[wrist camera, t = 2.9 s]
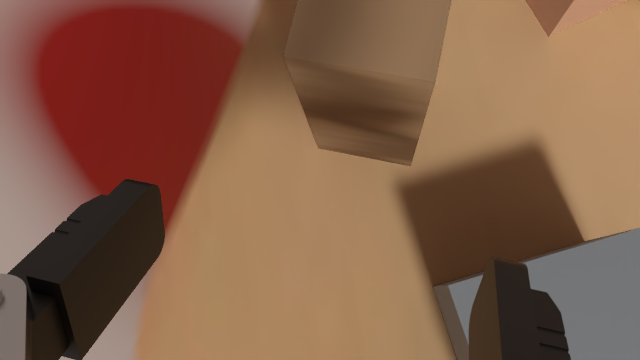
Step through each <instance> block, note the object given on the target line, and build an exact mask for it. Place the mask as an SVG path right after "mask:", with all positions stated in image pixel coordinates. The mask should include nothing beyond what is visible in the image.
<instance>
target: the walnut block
mask: <svg viewBox="0 0 640 360" xmlns="http://www.w3.org/2000/svg"><path fill="white" fill-rule="evenodd" d="M450 4H451V0H297V4H296V8H295V12H294V16H293V20H292V24H291V27H290V31H289V35H288V39H287V43H286V47H285V51H284V55H283V57H284V60H285V62H286V65H287V68H288V70H289V73H290V76H291V78H292V81H293V83H294V86H295V89H296V91H297V94H298V96H299V99H300V102H301V104H302V107H303V110H304V112H305V115H306V117H307V120H308V123H309V125H310V128H311V130H312V133H313V136H314V138H315V141H316V144H317V146H318V148H320V149H325V150H330V151H335V152H341V153H346V154H351V155H356V156H361V157H366V158H372V159H377V160H382V161H387V162H392V163H397V164H402V165H408V166H411V163H412V159H413V156H414V153H415V149H416V146H417V142H418V139H419V136H420V132H421V129H422V125H423V122H424V119H425V115H426V112H427V109H428V105H429V102H430V98H431V95H432V92H433V88H434V85H435V81H436V76H437V71H438V66H439V61H440V56H441V50H442V45H443V40H444V35H445V30H446V25H447V20H448V15H449V9H450Z"/></svg>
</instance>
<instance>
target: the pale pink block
mask: <svg viewBox="0 0 640 360" xmlns="http://www.w3.org/2000/svg"><path fill="white" fill-rule="evenodd" d="M526 1H527V3H528V5H529V6H530V8H531V9H532V11H533V13H534V14H535V16H536V17H537V19H538V21H539V22H540V24H541V25H542V27H543V29H544V30H545V32H546V33H547V35H548V37H550V36H552V35H554V34H556V33H558V32H561V31H563V30H565V29H567V28H569V27H571V26H574V25H576V24H578V23H580V22H582V21H584V20H587V19H589V18H591V17H593V16H595V15H597V14H600V13H602V12H604V11H606V10H608V9H610V8H613V7H615V6H617V5H619V4H621V3H623V2H626V1H628V0H526Z"/></svg>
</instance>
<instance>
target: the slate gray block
mask: <svg viewBox="0 0 640 360" xmlns="http://www.w3.org/2000/svg"><path fill="white" fill-rule="evenodd" d="M517 262H519V263H523V264H526V265H527V268H528V274H529V280H530V287H531V289H534V290H539V291H543V292H547V293H548V294H549V296H550V297H551V299H552V300H553V302H554V303H555V304H556V306H557V307H558V309H559V310H560V312H561V315H562V320H563V324H564V329H565V337H566V338H567V343H568V348H569V351H568V354H570V357H571V360H640V228H638V229H634V230H629V231H625V232H621V233H617V234H613V235H609V236H605V237H601V238H597V239H592V240H588V241H584V242H581V243H578V244H574V245H571V246H568V247H564V248H561V249H557V250H554V251H551V252H547V253H544V254H541V255H537V256H534V257H531V258H527V259H524V260H521V261H517ZM484 272H485V271H484ZM484 272H481V273H477V274H474V275H470V276H467V277H464V278H460V279H457V280H454V281H450V282H447V283H444V284H440V285H437V286H434V287H433V289H434V292H435V295H436V298H437V301H438V304H439V307H440V310H441V313H442V316H443V319H444V322H445V325H446V328H447V331H448V334H449V337H450V340H451V343H452V346H453V349H454V352H455V355H456V358H457V360H469V320H470V314H471V309H472V305H473V302H474V299H475V297H476V294H477V291H478V288H479V285H480V283H481V280H482V277H483V274H484Z"/></svg>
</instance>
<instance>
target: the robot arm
mask: <svg viewBox="0 0 640 360" xmlns="http://www.w3.org/2000/svg"><path fill="white" fill-rule="evenodd" d="M164 239H165V230H164V221H163V212H162V203H161V194H160V189H159V187H158V186H157V185H154V184H150V183H145V182H140V181H135V180H131V179H126V180H124V181H122V182H121V183H120V184H119V185H118V186H117V187H116V188H115V189H114V190H113V191H112V192H111V193H110V194H109V195H108V196H107V195H100V196H98V197H96V198H94V199H92V200H90V201H88V202H86V203H84V204H82V205H81V206H79V207H78V208H77V209H76V210H75V211H74V212H73V213H72V214H71V215H70V216H69V217H68V218H67V221H63V222H62V223H61V224H60V225H59V226H58V227H57V228H56V229H55V232H54V233H53V232H52V233H51V234H49V236H47V237H46V238H45V239H44V240H43V241H42V242H41V243H40V244H39V245H38V246H37V247H36V248H35V249H34V250H32V251H31V252H30V253H29V254H28V255H27V256H26V257H25V258H24V259H23V260H22V261H21V262H20V263H18V264H17V266H15V267H14V268H13V269H12V270H11V271H10V272H9V273H8V274H0V360H59V359H60V357H61V356H64V357H68V358H71V359H75V360H82V359H83V357H84V356H85V355H86V353H87V352H88V351H89V349H90V348H91V347H92V345H93V344H94V343H95V341H96V340H97V339H98V337H99V336H100V335H101V333H102V332H103V331H104V329H105V328H106V327H107V325H108V324H109V322H110V321H111V320H112V319H113V317H114V316H115V314H116V313H117V312H118V310H119V309H120V308H121V306H122V305H123V304H124V302H125V301H126V300H127V298H128V297H129V296H130V294H131V293H132V292H133V290H134V289H135V288H136V286H137V285H138V284H139V282H140V281H141V279H142V278H143V277H144V276H145V274H146V273H147V271H148V270H149V269H150V267H151V266H152V265H153V263H154V262H155V261H156V259H157V258H158V256H159V255H160V253H161V250H162V248H163V244H164ZM568 351H569V348H568V343H567V338H566V337H565V329H564V324H563V320H562V315H561V312H560V310H559V309H558V307H557V306H556V304H555V303H554V302H553V300H552V299H551V297H550V296H549V294H548V293H547V292H543V291H539V290H534V289H531V287H530V280H529V274H528V268H527V265H526V264H523V263H519V262H514V261H509V260H505V259H500V258H495V257H491V258H490V259H489V261H488V263H487V266H486V269H485V272H484V274H483V277H482V280H481V283H480V285H479V288H478V291H477V294H476V297H475V299H474V302H473V305H472V309H471V314H470V320H469V360H571V357H570V354H568Z"/></svg>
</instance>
